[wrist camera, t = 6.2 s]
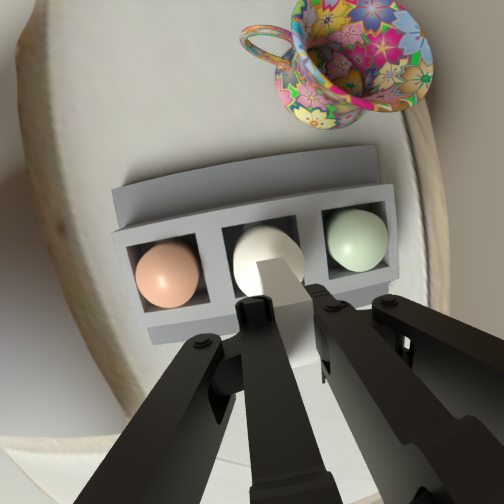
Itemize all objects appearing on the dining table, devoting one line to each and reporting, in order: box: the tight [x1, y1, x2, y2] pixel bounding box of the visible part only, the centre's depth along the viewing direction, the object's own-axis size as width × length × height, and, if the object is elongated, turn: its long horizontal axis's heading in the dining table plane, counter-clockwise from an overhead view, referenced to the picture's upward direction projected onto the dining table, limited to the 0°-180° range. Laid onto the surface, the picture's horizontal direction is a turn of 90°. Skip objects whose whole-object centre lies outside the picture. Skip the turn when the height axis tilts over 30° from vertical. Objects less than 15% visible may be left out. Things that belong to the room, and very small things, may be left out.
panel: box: [111, 145, 399, 345], centre depth 24 cm, size 14×22×5 cm, turn 100°
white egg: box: [233, 225, 305, 297], centre depth 20 cm, size 4×4×4 cm
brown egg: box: [136, 238, 202, 308], centre depth 22 cm, size 4×4×4 cm
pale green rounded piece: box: [323, 207, 388, 272], centre depth 22 cm, size 4×4×4 cm
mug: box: [240, 0, 433, 129], centre depth 18 cm, size 12×9×11 cm
